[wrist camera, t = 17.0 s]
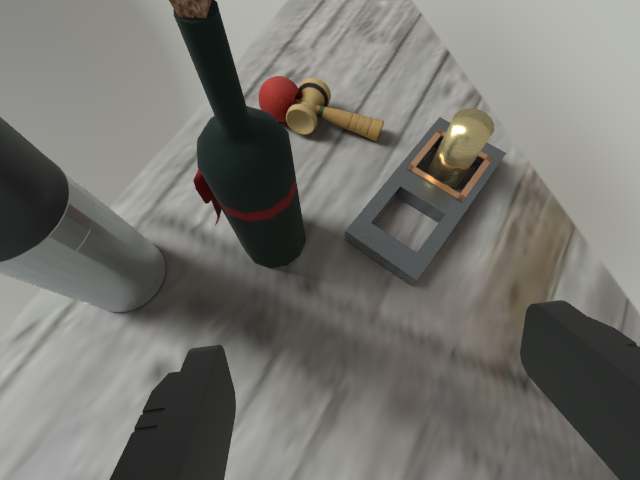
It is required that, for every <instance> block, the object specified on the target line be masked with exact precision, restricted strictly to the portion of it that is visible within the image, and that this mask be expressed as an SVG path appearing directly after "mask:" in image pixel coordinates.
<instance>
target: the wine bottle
mask: <svg viewBox="0 0 640 480" xmlns="http://www.w3.org/2000/svg"><path fill="white" fill-rule="evenodd" d="M169 1H170V3H171V4H172V6H173V8H174V17H175V19H176V21H177V24H178V26H179V29H180V31H181V34H182V36H183V39H184V41H185V44H186V46H187V48H188V51H189V53H190V56H191V58H192V61H193V63H194V65H195V68H196V70H197V72H198V75H199V78H200V80H201V83H202V85H203V88H204V90H205V92H206V95H207V97H208V100H209V102H210V105H211V107H212V110H213V112H214V115H215V116H214V117H212V118H211V119H210V120H209V122H208V123H207V125H206V126H205V128H204V130H203V131H202V133H201V135H200V136H199V138H198V141H197V159H198V172H197V174H196V176H195V178H194V184H195V187H196V190H197V191H198V193H199V194H200V196H201V197H202V199H203V201H204V202H205V203H209V202H210V201H212V203H213V206H214V208H215V211H216V213H217V216H218V217H217V221H216V224H217V222H218V220H219V217H220V213H221V209H222V210H223V212H224V214H225V216H226V217H227V219H228V221H229V223H230V225H231V226H232V228H233V230H234V232H235V233H236V235H237V237H238V239H239V240H240V242H241V244H242V246H243V247H244V249H245V251H246V252H247V253H248V255H249V256H250V257H251V258H252V260H253V261H254V262H255V263H257V264H260V265H263V266H266V267H269V268H274V267H280V266H285V265H288V264H289V263H290V262H292V261H293V260H294V259H295V258H297V257H298V256H299V255H300V253H301V251H302V248H303V246H304V243H305V234H304V228H303V221H302V215H301V208H300V202H299V195H298V189H297V183H296V176H295V170H294V163H293V157H292V151H291V145H290V139H289V134H288V132H287V131H286V130H285V129H284V127H283V126H282V125H281V124H280V123H279V122H278V121H277V120H275V119H274V118H273V117H272V116H271V115H270V114H269V113H267V112H265V111H262V110H259V109H255V108H251V107H248V106H246V104H245V100H244V96H243V93H242V89H241V86H240V82H239V79H238V75H237V72H236V68H235V65H234V61H233V58H232V54H231V51H230V47H229V43H228V40H227V36H226V33H225V29H224V26H223V22H222V19H221V15H220V12H219V8H218V5H217V2H216V1H215V0H169ZM215 226H216V225H215Z"/></svg>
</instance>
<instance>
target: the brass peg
mask: <svg viewBox="0 0 640 480" xmlns="http://www.w3.org/2000/svg"><path fill="white" fill-rule="evenodd" d="M493 131H494V123H493V121H492V119H491V118H490V117H489V116H488V115H487V114H486V113H484V112H482V111H480V110H477V109H463V110H460V111H459V112H457V113H456V114H455V115H454V117H453V119H452V121H451V123H450V125H449V128H448V130H447V132H446V134H445V136H444V138H443V140H442V142H441V144H440V146H439V148H438V150H437V152H436V155H435V157H434V159H433V161H432V163H431V165H430V167H429V169H428V172H427V174H428V175H430V176H432V177H433V178H435V179H437V180H438V181H440V182H442V183H443V184H445V185H447V186H448V187H450V188H452V189H453V188H455V187H456V186H458V184H459V183H460V181H461V180H462V178H463V177H464V175H465V174H466V172H467V171H468V169H469V168H470V166H471V165H472V163H473V162H474V160H475V159H476V157H477V156H478V154H479V153H480V151H481V150H482V148H483V147H484V145H485V144H486V142H487V141H488V139H489V138H490V136H491V135H492V133H493Z"/></svg>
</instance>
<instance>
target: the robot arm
mask: <svg viewBox="0 0 640 480" xmlns="http://www.w3.org/2000/svg"><path fill="white" fill-rule="evenodd" d="M165 270H166V266H165V260H164V257H163V254H162V253H161V252H160V250H159V249H158V248H157V247H156V246H155V245H153V244H152V243H151V242H150V241H149V240H147V239H146V238H145V237H144V236H143V235H142V234H140V233H139V232H138V231H137V230H136V229H134V228H133V227H132V226H131V225H129V224H128V223H127V222H126V221H125V220H123V219H122V218H121V217H120V216H119V215H117V214H116V213H115V212H114V211H112V210H111V209H110V208H109V207H108V206H106V205H105V204H104V203H103V202H101V201H100V200H99V199H98V198H97V197H95V196H94V195H93V194H92V193H90V192H89V191H88V190H87V189H86V188H84V187H83V186H82V185H80V184H79V183H78V182H77V181H76V180H74V179H73V178H72V177H71V176H69V175H68V174H67V173H66V172H65V171H63V170H62V169H61V168H60V167H58V166H57V165H56V164H55V163H54V162H52V161H51V160H50V159H48V158H47V157H46V156H45V155H44V154H43V153H41V152H40V151H39V150H38V149H37V148H35V147H34V146H33V145H32V144H31V143H30V142H29V141H27V140H26V139H25V138H24V137H23V136H22V135H21V134H20V133H18V132H17V131H16V130H15V129H14V128H13V127H11V126H10V125H9V124H8V123H7V122H5V121H4V120H3V119H2V118H1V117H0V274H3V275H6V276H9V277H12V278H15V279H18V280H21V281H24V282H27V283H29V284H32V285H36V286H38V287H41V288H44V289H47V290H50V291H53V292H55V293H58V294H61V295H64V296H67V297H70V298H73V299H76V300H79V301H82V302H84V303H87V304H90V305H93V306H96V307H99V308H102V309H105V310H108V311H111V312H126V311H131V310H134V309H136V308H139V307H140V306H142V305H144V304H145V303H147V302H148V301H149V300H150V299H151V298H153V296H154V295H155V294H156V293H157V292H158V290H159V288H160V287H161V285H162V283H163V280H164V277H165ZM520 356H521V361H522V364H523V367H524V369H525V371H526V373H527V374H528V375H529V377H530V378H531V379H532V380H533V381H534V382H535V384H536V385H537V386H538V387H539V388H540V389H541V390H542V392H543V393H544V394H545V395H546V396H547V397H548V398H549V400H550V401H551V402H552V403H553V404H554V405H555V406H556V408H557V409H558V410H559V411H560V412H561V413H562V414H563V416H564V417H565V418H566V419H567V420H568V421H569V422H570V424H571V425H572V426H573V427H574V428H575V429H576V430H577V432H578V433H579V434H580V435H581V436H582V437H583V438H584V440H585V441H586V442H587V443H588V444H589V445H590V446H591V447H592V449H593V450H594V451H595V452H596V453H597V454H598V455H599V457H600V458H601V459H602V460H603V461H604V462H605V463H606V465H607V466H608V467H609V468H610V469H611V470H612V471H613V473H614V474H615V475H616V476H617V477H618V478H619V479H620V480H640V347H638V346H637V345H636V343H635V342H634V341H632V340H631V339H629V338H628V337H627V336H625V335H624V334H622V333H621V332H619V331H618V330H616V329H615V328H613V327H611V326H608V325H606V324H604V323H601V322H599V321H597V320H595V319H592V318H590V317H587V316H586V315H584V314H583V313H582V312H580V311H579V310H577V309H576V308H575V307H573V306H572V305H570V304H569V303H567V302H565V301H562V300H560V301H552V302H544V303H537V304H531V305H530V306H529V307H528V308H527V311H526V317H525V323H524V330H523V336H522V343H521V349H520ZM235 411H236V399H235V391H234V387H233V383H232V379H231V375H230V371H229V367H228V363H227V359H226V355H225V352H224V349H223V347H222V346H221V345H216V346H208V347H201V348H193V349H190V350H189V351H188V353H187V356H186V358H185V361H184V363H183V366H182V368H181V370H180V372H173V373H168V375H167V376H166V377H165V378H164V379H163V380H162V381H161V382H160V383H159V384H158V385H157V386H156V387H155V389H154V390H153V391H152V393H151V395H150V397H149V399H148V401H147V403H146V405H145V407H144V409H143V415H140V418H139V420H138V422H137V424H136V426H135V428H134V429H135V431H134V433H132V434H131V436H130V438H129V441H128V443H127V445H126V447H125V449H124V451H123V453H122V455H121V457H120V459H119V461H118V463H117V466H116V468H115V470H114V472H113V474H112V476H111V478H110V480H224V476H225V470H226V465H227V459H228V453H229V448H230V442H231V436H232V431H233V425H234V419H235Z"/></svg>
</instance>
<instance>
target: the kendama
mask: <svg viewBox="0 0 640 480" xmlns="http://www.w3.org/2000/svg"><path fill="white" fill-rule="evenodd" d="M330 98H331V94H330V90H329V88H328V86H327V85H326V84H325V83H324V82H323V81H321V80H319V79H317V78H308V79H306V80H304V81H303V82H302V84H301V85H300V87H299V89H298V88H297V86H296V85H295V84H294V83H293V82H292V81H291V80H290V79H288V78H286V77H282V76H276V77H272V78H270V79H268V80H266V81H265V82H264V83H263V85H262V87H261V89H260V92H259V104H260V108H261V110H262V111H265V112H267V113H269V114H270V115H271V116H272V117H273V118H274V119H275V120H277V121H278V122H283V121H286V122H287V124H288V126H289V127H290V128H291V129H292V130H293V131H295V132H296V133H299V134H303V135H307V134H311V133H312V132H313V131H314V129H315V128H316V126H317V117H316V115H317V116H319V117H321V118H323V119H325V120H327V121H329V122H331V123H333V124H335V125H337V126H340V127H342V128H344V129H347V130H349V131H352V132H355V133H357V134H359V135H362V136H364V137H367V138H369V139H371V140H373V141H377V140H378V138H379V135H380V132H381V130H382V127H383V124H384V121H382V120H378V119H372V118H370V117H366V116H362V115H359V114H355V113H354V114H353V113H351V112H348V111H344V110H339V109H334V108H329V107H327V106H328V104H329V101H330Z"/></svg>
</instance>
